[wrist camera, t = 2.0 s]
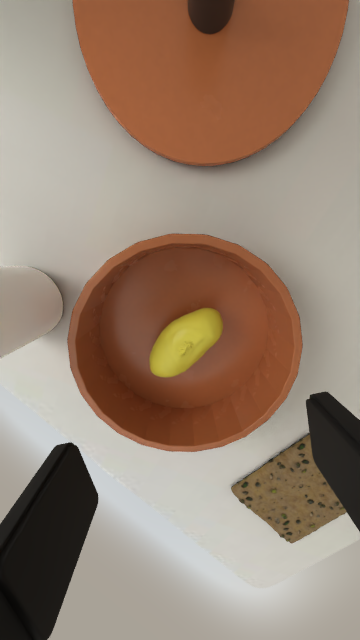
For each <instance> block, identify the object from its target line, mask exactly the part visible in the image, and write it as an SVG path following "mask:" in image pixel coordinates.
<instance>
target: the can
mask: <svg viewBox="0 0 360 640" xmlns="http://www.w3.org/2000/svg"><path fill="white" fill-rule="evenodd" d="M62 312H63V301H62V297H61V294H60V291H59V289H58V288H57V286H56V285H55V283H54V282H53V281H52V280H51V279H50V278H49V277H48V276H47V275H46V274H44V273H43V272H41V271H39V270H37V269H34V268H31V267H26V266H0V358H2V357H4V356H6V355H8V354H10V353H11V352H13V351H15V350H17V349H19V348H21V347H22V346H24V345H26V344H28V343H30V342H32V341H34V340H35V339H37V338H39V337H41V336H43V335H44V334H46V333H48V332H49V331H51V330H52V329H53V328H54V327H55V326H56V325H57V324H58V322H59V321H60V319H61V316H62Z"/></svg>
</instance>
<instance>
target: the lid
mask: <svg viewBox="0 0 360 640" xmlns="http://www.w3.org/2000/svg"><path fill="white" fill-rule="evenodd" d="M348 3H349V0H73V8H74V17H75V25H76V30H77V34H78V39H79V43H80V47H81V51H82V54H83V57H84V60H85V63H86V66H87V69H88V71H89V73H90V75H91V78H92V80H93V82H94V84H95V86H96V89H97V91H98V93H99V94H100V96H101V98H102V99H103V101H104V103H105V104H106V106H107V108H108V109H109V111H110V112H111V113H112V115H113V116H114V117H115V118H116V120H117V121H118V122H119V124H120V125H121V126H122V127H123V128H124V129H125V130H126V131H127V132H128V133H129V134H130V135H131V136H132V137H133V138H135V139H136V140H137V141H138V142H140V143H141V144H142V145H143V146H145V147H146V148H148V149H150V150H151V151H153V152H155V153H156V154H158V155H160V156H163V157H165V158H168V159H170V160H172V161H176V162H180V163H184V164H188V165H197V166H214V165H222V164H227V163H232V162H235V161H238V160H241V159H244V158H247V157H249V156H251V155H253V154H255V153H257V152H259V151H261V150H263V149H264V148H265V147H267V146H268V145H270V144H271V143H273V142H274V141H276V140H277V139H278V138H279V137H280V136H281V135H282V134H284V133H285V132H286V131H287V130H288V129H289V128H290V127H291V126H292V125H293V124H294V123H295V121H296V120H297V119H298V118H299V117H300V116H301V115H302V114H303V112H304V111H305V110H306V108H307V107H308V106H309V104H310V103H311V101H312V100H313V98H314V97H315V96H316V94H317V92H318V91H319V89H320V87H321V85H322V83H323V82H324V80H325V78H326V76H327V74H328V72H329V69H330V67H331V65H332V62H333V60H334V58H335V56H336V53H337V49H338V46H339V43H340V40H341V37H342V34H343V29H344V25H345V20H346V15H347V11H348Z"/></svg>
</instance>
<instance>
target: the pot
mask: <svg viewBox="0 0 360 640" xmlns="http://www.w3.org/2000/svg"><path fill="white" fill-rule="evenodd" d="M202 308H212V309H215V310H217V311H218V312H219V313H220V314H221V317H222V321H223V331H222V334H221V336H220V338H219V339H218V341H217V342H216V343H215V344H214V345H213V346H212V347H211V348H210V349H208V350H207V351H206V352H205V354H204V355H203V356H202V357H201V358H200V359H199V360H198V361H197V362H195V363H194V364H193V365H192V366H191V367H190V368H189V369H187V370H186V371H185V372H182V373H180V374H178V375H176V376H173V377H159V376H156V375H154V374H153V373H152V372H151V369H150V362H149V360H150V354H151V351H152V348H153V346H154V344H155V342H156V340H157V338H158V337H159V335H160V334H161V332H162V331H163V330H164V329H165V328H166V327H167V326H168V325H169V324H170V323H171V322H173V321H174V320H175V319H176V320H177V319H179V318H180V317H182V316H184V315H186V314H189V313H191V312H194V311H196V310H199V309H202ZM67 340H68V341H67V342H68V350H69V359H70V368H71V371H72V373H73V376H74V378H75V381H76V383H77V386H78V388H79V391H80V393H81V395H82V396H83V398H84V399H85V400H86V402H87V403H88V404H89V406H90V407H91V408H92V410H93V411H94V412H95V414H96V415H97V416H98V417H99V418H100V419H102V420H103V421H104V422H105V423H106V424H108V425H109V426H110V427H111V428H113V429H114V430H115V431H116V432H117V433H119V434H121V435H123V436H125V437H127V438H129V439H131V440H133V441H135V442H137V443H139V444H141V445H142V444H143V445H145V446H149V447H153V448H157V449H161V450H165V451H182V452H197V451H202V450H207V449H213V448H218V447H222V446H225V445H227V444H229V443H232V442H234V441H236V440H239V439H241V438H243V437H246V436H247V435H248V434H250V433H251V432H252V431H254V430H255V429H257V428H258V427H259V426H261V425H262V424H263V423H265V422H266V421H267V420H268V419H269V418H270V417H271V416H272V415H273V414H274V412H275V411H276V410H277V409H278V408H279V406H280V405H281V404H282V403H283V402H284V400H285V399H286V398H287V395H288V393H289V391H290V389H291V387H292V385H293V383H294V381H295V379H296V377H297V374H298V369H299V364H300V358H301V352H302V335H301V326H300V318H299V314H298V312H297V310H296V307H295V305H294V303H293V300H292V298H291V295H290V293H289V291H288V289H287V287H286V286H285V285H284V283H283V282H282V281H281V280H280V279H279V277H278V276H277V275H276V274H275V273H274V271H273V270H272V269H271V268H270V267H269V265H268V264H266V263H265V262H264V261H262V260H261V259H259V258H258V257H256V256H255V255H253V254H252V253H250V252H249V251H247V250H246V249H244V248H243V247H241V246H239V245H238V244H234V243H231V242H228V241H225V240H222V239H219V238H215V237H212V236H209V235H204V234H168V235H164V236H160V237H156V238H152V239H148V240H145V241H141V242H138V243H135V244H134V245H132V246H130V247H129V248H127V249H125V250H124V251H122V252H120V253H119V254H117V255H115V256H113V257H112V258H110V259H109V260H107V262H106V263H105V264H104V265H103V266H102V267H101V268H100V269H99V270H98V271H97V272H96V273H95V274H94V275H93V277H92V278H91V279H90V280H89V281H88V282H87V284H85V287H84V289H83V291H82V293H81V295H80V297H79V299H78V301H77V303H76V305H75V307H74V309H73V312H72V316H71V322H70V328H69V334H68V339H67Z"/></svg>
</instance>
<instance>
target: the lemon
mask: <svg viewBox="0 0 360 640" xmlns="http://www.w3.org/2000/svg"><path fill="white" fill-rule="evenodd" d="M222 331H223V321H222V317H221V314H220V313H219V312H218V311H217V310H215V309H212V308H202V309H199V310H196V311H194V312H191V313H189V314H186V315H184V316H182V317H180V318H179V319H177V320H176V319H175V320H174V321H173V322H171V323H170V324H169V325H168V326H167V327H166V328H165V329H164V330H163V331H162V332H161V334H160V335H159V337H158V338H157V340H156V342H155V344H154V346H153V348H152V351H151V354H150V360H149V362H150V369H151V372H152V373H153V374H154V375H156V376H159V377H173V376H176V375H178V374H180V373H182V372H185V371H186V370H187V369H189V368H190V367H191V366H192V365H193V364H194V363H195V362H197V361H198V360H199V359H200V358H201V357H202V356H203V355H204V354H205V352H206V351H207V350H208V349H210V348H211V347H212V346H213V345H214V344H215V343H216V342H217V341H218V339H219V338H220V336H221V334H222Z"/></svg>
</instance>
